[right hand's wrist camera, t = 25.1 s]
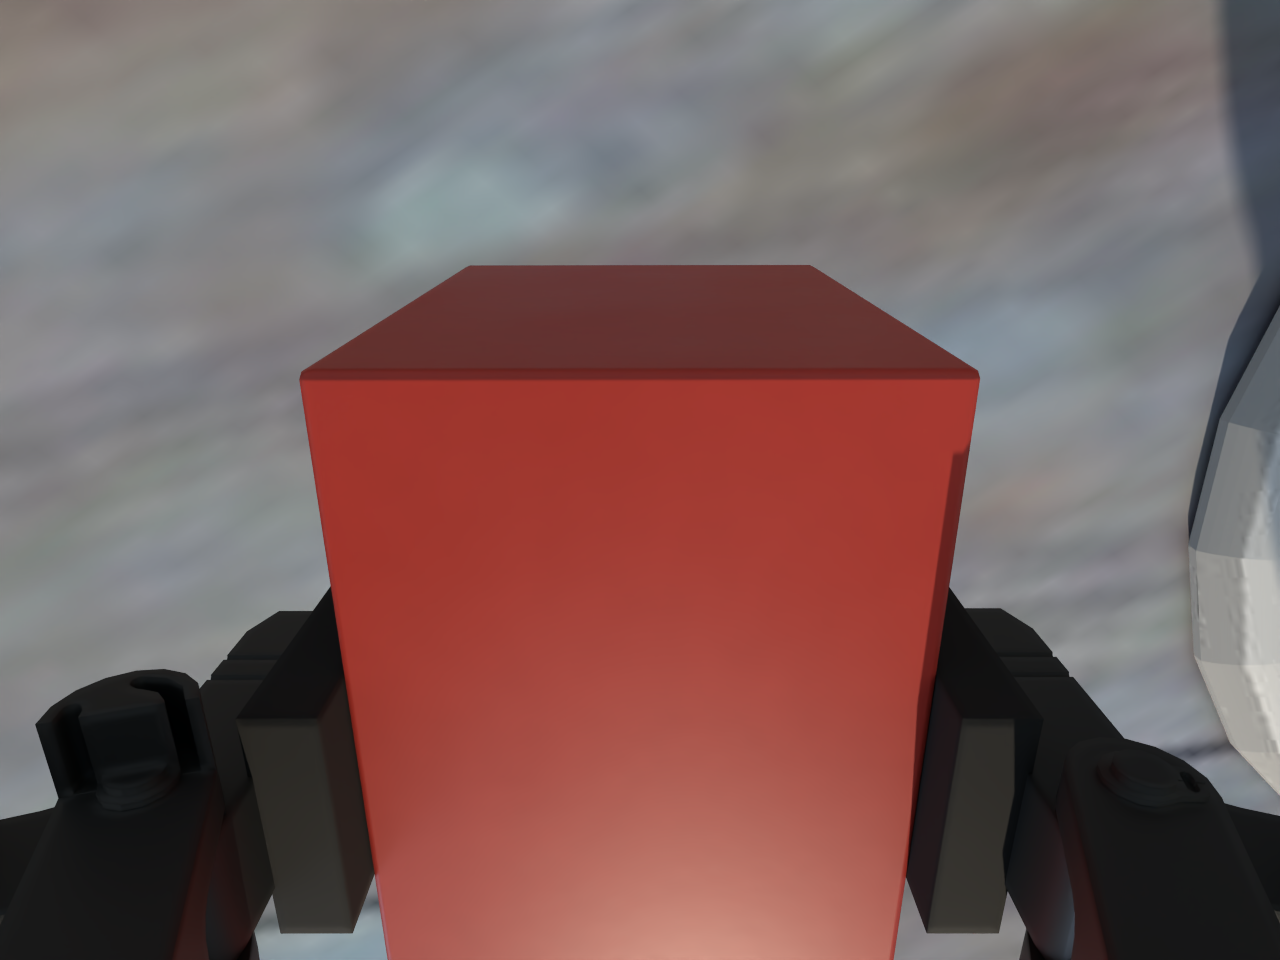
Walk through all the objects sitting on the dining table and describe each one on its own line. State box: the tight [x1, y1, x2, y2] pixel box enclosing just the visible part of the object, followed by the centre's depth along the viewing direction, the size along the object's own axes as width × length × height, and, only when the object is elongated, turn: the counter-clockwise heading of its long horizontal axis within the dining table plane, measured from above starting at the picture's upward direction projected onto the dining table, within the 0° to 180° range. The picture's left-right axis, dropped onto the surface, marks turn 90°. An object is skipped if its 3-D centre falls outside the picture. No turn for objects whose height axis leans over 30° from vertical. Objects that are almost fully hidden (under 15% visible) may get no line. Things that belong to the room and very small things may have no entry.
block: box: [299, 265, 980, 960], centre depth 12 cm, size 9×6×8 cm, turn 0°
